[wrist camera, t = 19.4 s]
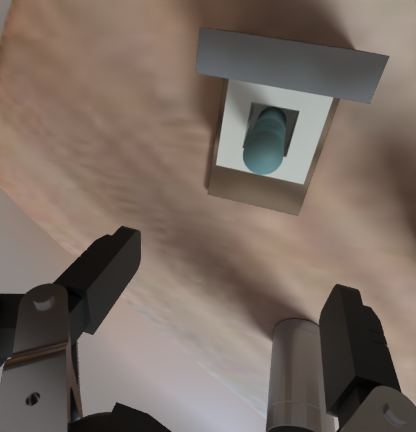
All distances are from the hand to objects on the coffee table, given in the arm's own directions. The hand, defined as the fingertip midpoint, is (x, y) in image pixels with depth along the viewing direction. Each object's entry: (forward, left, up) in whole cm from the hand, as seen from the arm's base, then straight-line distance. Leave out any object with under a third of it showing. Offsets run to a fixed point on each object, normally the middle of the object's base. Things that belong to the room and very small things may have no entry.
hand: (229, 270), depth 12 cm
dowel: (0, 0, -26) cm, 26 cm away
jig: (-2, 0, -28) cm, 28 cm away
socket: (0, 0, -27) cm, 27 cm away
